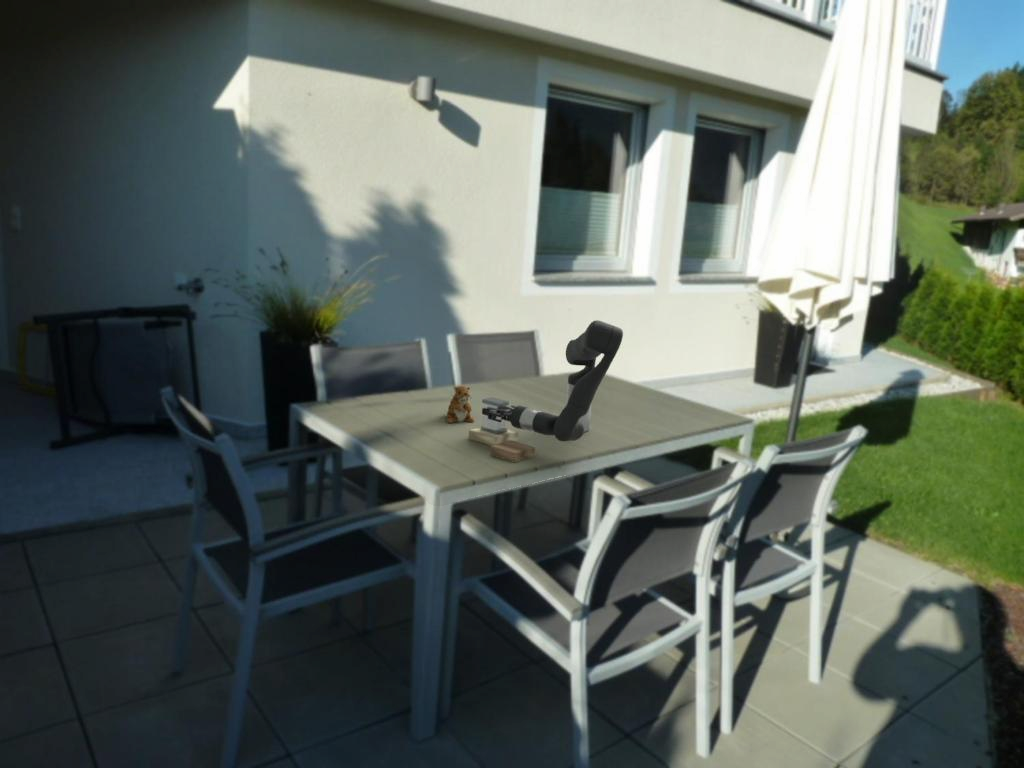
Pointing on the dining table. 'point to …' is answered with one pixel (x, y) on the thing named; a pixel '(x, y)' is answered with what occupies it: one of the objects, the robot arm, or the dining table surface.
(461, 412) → the stuffed squirrel
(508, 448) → the walnut stand
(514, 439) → the cream slab
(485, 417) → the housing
